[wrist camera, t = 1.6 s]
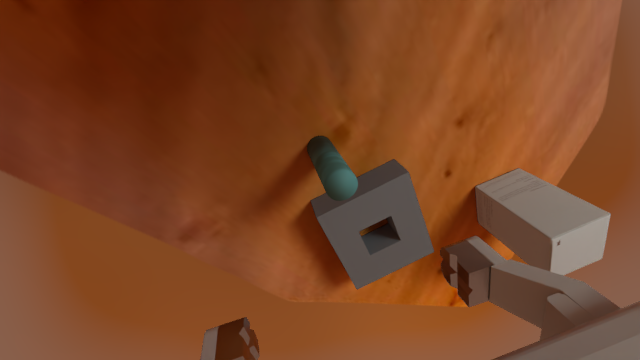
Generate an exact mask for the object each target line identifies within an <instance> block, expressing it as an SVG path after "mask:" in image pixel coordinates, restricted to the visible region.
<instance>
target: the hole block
mask: <svg viewBox="0 0 640 360" xmlns="http://www.w3.org/2000/svg"><path fill="white" fill-rule="evenodd" d="M357 180H358V187H357V190H356V192H355V193H354V195H353V196H351V197H350V198H348V199H346V200H343V201H336V200H333V199H331V198H330V197H329V196H328V195H327V193H325V194H323V195H321V196H319V197H317V198H315V199H313V200H311V204H312V206H313V209H314V212H315V215H316V218H317V220H318V221H319V223H320V225H321V227H322V229H323V230H324V232H325V234H326V236H327V237H328V239H329V241H330V243H331V245H332V246H333V248H334V250H335V252H336V253H337V255H338V257H339V259H340V261H341V262H342V264H343V266H344V268H345V269H346V271H347V273H348V275H349V276H350V278H351V280H352V282H353V284H354V285H355V287H356V289H359V288H361V287H363V286H365V285H367V284H369V283H371V282H374V281H376V280H378V279H380V278H382V277H384V276H386V275H388V274H390V273H392V272H394V271H396V270H398V269H400V268H402V267H404V266H406V265H408V264H410V263H412V262H414V261H416V260H418V259H420V258H423V257H425V256H427V255H429V254H431V253H433V252H434V249H433V246H432V243H431V240H430V237H429V234H428V231H427V228H426V225H425V221H424V218H423V215H422V212H421V209H420V206H419V203H418V200H417V197H416V193H415V190H414V187H413V184H412V181H411V178H410V175H409V172H408V171H407V170H406V169H405V168H404V167H403V166H401V165H400V164H399V163H398V162H397V161H396V160H395V159H393V160H391V161H389V162H387V163H385V164H383V165H381V166H379V167H377V168H375V169H373V170H371V171H369V172H367V173H365V174H363V175H361V176H359V177H357ZM385 218H387V220H388V224H386V225H384V226H382V227H380V228H378V229H376V230H374V231H372V232H370V233H368V234H366V235H364V236H362V237H361V235H360V233H359V231H361V230H363V229H365V228H367V227H369V226H371V225H373V224H375V223H377V222H379V221H381V220H383V219H385Z"/></svg>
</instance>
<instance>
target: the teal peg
mask: <svg viewBox="0 0 640 360" xmlns="http://www.w3.org/2000/svg"><path fill="white" fill-rule="evenodd" d="M307 151H308V154H309V156H310V158H311V160H312V163H313V165H314V167H315V169H316V171H317V173H318V176H319V178H320V180H321V182H322V184H323V186H324V189H325V191H326V193H327V195H328V196H329V197H330V198H331V199H333V200H336V201H343V200H346V199H348V198H350V197H351V196H353V195H354V193H355V192H356V190H357V187H358V180H357V178H356V176H355V175H354V174H353V172H352V171H351V169H350V168H349V167H348V165H347V164H346V162H345V161H344V160H343V158H342V157H341V155H340V154H339V153H338V151H337V150H336V148H335V147H334V146H333V144H332V143H331V141H330V140H329V139H328V138H327V137H324V136H316V137H314V138H312V139H311V140H310V141H309V143H308V146H307Z"/></svg>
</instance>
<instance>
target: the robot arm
mask: <svg viewBox="0 0 640 360" xmlns="http://www.w3.org/2000/svg"><path fill="white" fill-rule="evenodd" d="M440 255H441V256H442V258H443V261H442V262H441V269H442V272H443V275H444V277H445V279H446V280H447V282H448V283H449V284H450V285H451V286H453V287H455V288H457V289H458V295H459V296H460V297H461V299H462V300H463V301H464V302H465V303H466V304H467V306H468V307H472V306H475V305H477V304H480V303H483V302H486V301H489V302H491V303H493V304H495V305H497V306H499V307H501V308H503V309H505V310H507V311H508V312H510V313H512V314H514V315H516V316H518V317H520V318H522V319H524V320H526V321H528V322H530V323H532V324H534V325H536V326H537V327H540V328H541V329H542V331H541V336H540V341H538V342H535V343H533V344H530V345H528V346H525V347H523V348H520V349H517V350H515V351H512V352H510V353H507V354H505V355H502V356H500V357H497V358H495V359H492V360H640V301H639V302H636V303H634V304H631V305H628V306H626V307H624V308H619V307H618V306H617V305H615V304H614V303H612V302H611V301H610V300H608V299H607V298H606V297H604V296H603V295H601V294H600V293H599V292H597V291H596V290H594V289H593V288H592V287H590V286H589V285H587V284H586V283H584V282H582V281H579V280H576V279H572V278H569V277H566V276H563V275H559V274H556V273H553V272H550V271H546V270H543V269H540V268H536V267H533V266H530V265H526V264H523V263H520V262H517V261H513V260H506V259H504V258H503V257H502V256H501V255H500V254H498V253H497V252H496V251H495V250H494V249H492V248H491V247H490V246H489V245H488V244H486V243H485V242H484V241H483V240H482V239H480V238H479V237H477V236H473V237H470V238H467V239H465V240H462V241H459V242H456V243H453V244H451V245H448V246H445V247H442V248H441V250H440ZM258 358H259V345H258V340H257V337H256V334H255V332H254V330H252V329H250V323H249V321H248V319H247V318H246V317H245V318H241V319H239V320H235V321H232V322H229V323H226V324H223V325H220V326H217V327H214V328H211V329H208V330H206V332H205V334H204V340H203V346H202V353H201V359H200V360H258Z"/></svg>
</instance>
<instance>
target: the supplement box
mask: <svg viewBox="0 0 640 360" xmlns="http://www.w3.org/2000/svg"><path fill="white" fill-rule="evenodd" d="M475 193H476V206H477V218H478V223H479V224H480V225H481V226H483V227H484V228H485V229H486V230H487V231H489V232H490V233H491V234H492V235H493V236H495V237H496V238H497V239H498V240H500V241H501V242H502V243H503V244H504V245H506V246H507V247H508V248H509V249H510V250H512V251H513V252H514V253H515V254H516V255H518V256H519V257H520V258H521V259H523V260H524V261H525V262H526V263H527V264H529V265H530V266H533V267H536V268H540V269H543V270H546V271H550V272H553V273H556V274H559V275H565V274H568V273H570V272H572V271H575V270H576V269H579V268H582V267H583V266H586V265H588V264H591V263H593V262H596V261H598V260H600V259H602V257H603V252H604V247H605V242H606V236H607V230H608V225H609V220H610V215H611V214H610V213H608V212H606V211H604V210H602V209H600V208H598V207H596V206H594V205H592V204H590V203H588V202H586V201H584V200H582V199H580V198H578V197H576V196H574V195H572V194H570V193H568V192H566V191H563V190H562V189H560V188H558V187H556V186H554V185H552V184H550V183H548V182H546V181H544V180H542V179H540V178H538V177H536V176H534V175H532V174H530V173H527V172H526V171H523V170H521V169H519V168H518V169H516V170H513V171H511V172H509V173H506V174H504V175H501V176H499V177H497V178H494V179H492V180H490V181H487V182H485V183H482V184H480V185H478V186H476V187H475Z"/></svg>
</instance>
